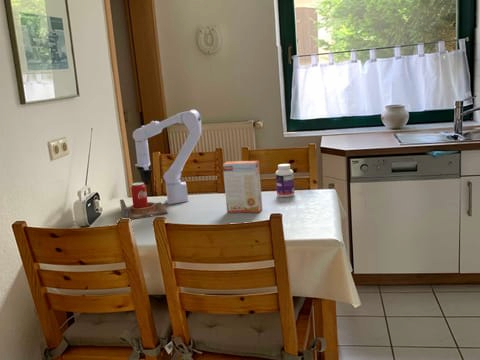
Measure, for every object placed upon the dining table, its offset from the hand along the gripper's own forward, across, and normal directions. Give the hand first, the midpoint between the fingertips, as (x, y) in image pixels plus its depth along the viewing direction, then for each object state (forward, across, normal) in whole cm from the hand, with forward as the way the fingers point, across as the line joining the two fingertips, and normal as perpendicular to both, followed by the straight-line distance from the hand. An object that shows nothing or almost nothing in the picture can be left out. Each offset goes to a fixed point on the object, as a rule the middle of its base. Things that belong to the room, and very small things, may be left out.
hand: (145, 182), depth 236 cm
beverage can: (+9, +16, -5) cm, 19 cm away
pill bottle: (+9, +28, +58) cm, 65 cm away
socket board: (+10, +16, -4) cm, 19 cm away
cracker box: (+9, +40, +34) cm, 54 cm away
